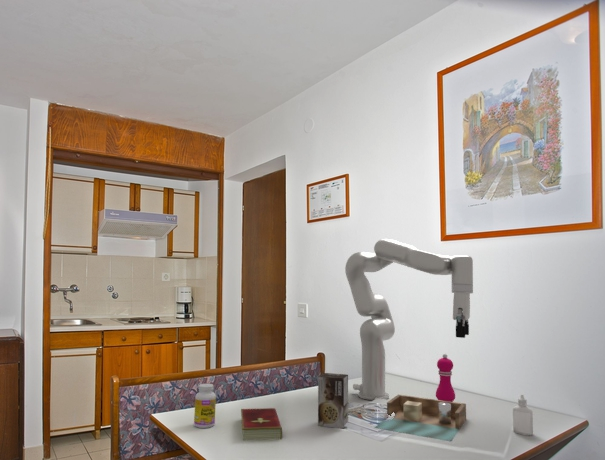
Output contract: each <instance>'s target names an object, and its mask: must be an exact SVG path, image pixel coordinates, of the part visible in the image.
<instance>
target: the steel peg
mask: <svg viewBox="0 0 605 460" xmlns="http://www.w3.org/2000/svg"><path fill="white" fill-rule="evenodd" d="M439 423H442V424H451V404H450V403H446V402H440V403H439Z"/></svg>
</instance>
